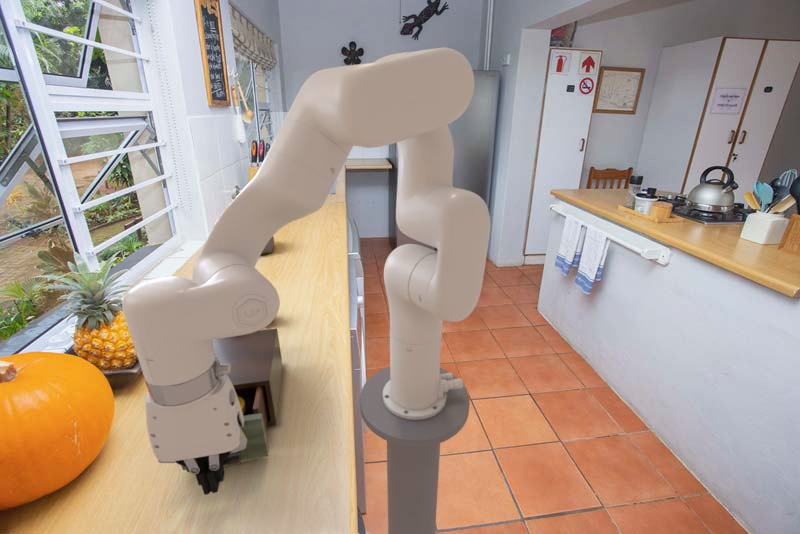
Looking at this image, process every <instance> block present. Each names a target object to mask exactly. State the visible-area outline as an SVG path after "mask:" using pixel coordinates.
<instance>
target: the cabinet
mask: <svg viewBox="0 0 800 534" xmlns="http://www.w3.org/2000/svg"><path fill="white" fill-rule="evenodd" d="M278 330H279V329H278V328H277V327H276V328H267V329H261V330H259V331H256V332H253V333H250V334H246V335H241V336H235V337H227V338H220V339H214V340H212V342H213V347H214V351H215V356H218V361H220V363H224V364H227V363H230V366H231V373H230V374H227V375H228V377H229V379H230V380H231V382H232V384H233V387H234V389H240V388H248V387H255V386H263V385H265V390H266V396H267V402H268V408H269V412H268V419H267V426H273V425H277V423H278V414H279V403H280V395H281V386H282V377H283V376H282V375H283V368H284V367H283V359H282V352H281V345H280V340H279V339H280V338H279V331H278ZM267 426H266V427H267Z"/></svg>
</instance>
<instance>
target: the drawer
mask: <svg viewBox="0 0 800 534" xmlns="http://www.w3.org/2000/svg"><path fill="white" fill-rule="evenodd" d="M235 391H236V394H237V396H239V397H241V398H243V399H244V402H245V406H246V411H247V415H245V416H243V417H244V427H242V428H241V429H242V431H243V433H244V434H245V436H246V438H247V445H246V448H245V449H244V450H241V451H238V452H235V453H230V455H229V456H228V457H227V458H226V459H225V460H224V461H223V462H222V464H223V467H229V466H233V465H239V464H241V463H242V461H246V460H253V459H259V458H264V457H268V456H269V452H270V451H269V445H268V444H269V443H268V438H267V433H266V432H267V419H268V412H269V408H268V402H267V396H266V390H265V385H263V386H255V387H248V388H240V389H235ZM180 466H181V469H182V471H186V472H187V473H190V471H189V469H188V468H187V467H184V466H182V465H180Z"/></svg>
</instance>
